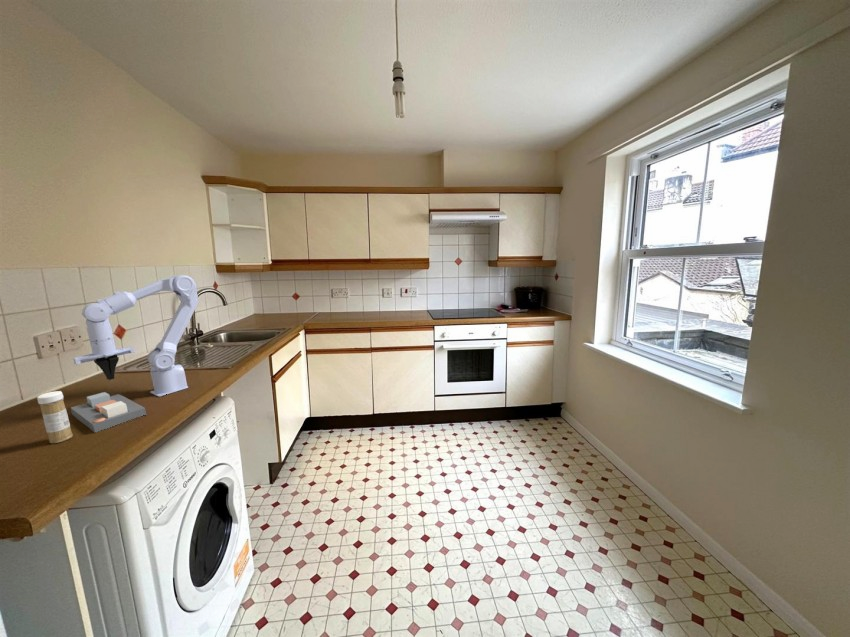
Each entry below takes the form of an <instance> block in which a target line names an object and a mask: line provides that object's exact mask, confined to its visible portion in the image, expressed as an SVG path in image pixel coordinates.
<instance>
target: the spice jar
mask: <svg viewBox="0 0 850 637" xmlns="http://www.w3.org/2000/svg"><path fill="white" fill-rule="evenodd" d="M36 400H37V403H38V405H39V406H40V410H41V411H40V412H41V415H42V418H43V424H44V427H45V431H46V432H47V436H48V439H49V440H48V442H49V443H50V444H58V443H62V442H65V441H67V440H70V439H72V438H73V436H74V435H73V432H72V428H71V424H70V420H69V416H68V412H67V408H66V405H65V402H64V394H63V392H62V391H61V390H58V391H57V390H56V391H50V392H46V393H43V394H40V395H38V396H37V397H36Z"/></svg>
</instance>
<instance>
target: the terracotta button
mask: <svg viewBox="0 0 850 637" xmlns="http://www.w3.org/2000/svg"><path fill="white" fill-rule="evenodd" d="M116 402H117V401H115V400H110V401H107V402H103V403H100V404H96V405H95V409H96V411H97V412H98V413H100V412H103V411H102V406H106V405H109V404H112V403H116Z"/></svg>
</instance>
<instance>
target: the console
mask: <svg viewBox="0 0 850 637" xmlns="http://www.w3.org/2000/svg"><path fill="white" fill-rule="evenodd" d="M110 399H111V400H115V401H117V402H119V401H122V402H124V403H125V404H126V406H127V410H128V412H126V413H123V414H120V415H117V416H114V417H110V418H106V417H104V415H103V412H100V413H98V412H97V411H96V409H95V407H92V408H91V407H90V406H89V405H88V402H85V403H82V404H78V405H75V406H70V410H71V411H70V412H71V415H72V416H73V417H74V418H75V419H77V420H78V421H79V422H80V423H82V424H83V425H85V426H86V427H87V428H89V429H90V430H91V431H92V432H93V433H95V432H96V433H99V432H102V431H105V430H107V428H108V429H110V427H111V428H113V427H112V426H114V427H116V426H115V425H117V424H120V423H122V424H124V423H123V422H125V423H127V422H126V421H128V420H131V419H134V418H136V417H140V416H143V415H146V416H147V411H146V407H144V406H143V405H141V404H138V403H137V402H135V401H133V400H132V399H129V398H127V397H125V396H124V395H121V394H120V393H118V394H115V395H110ZM143 417H144V416H143ZM140 418H141V417H140ZM134 420H135V419H134ZM131 421H132V420H131ZM128 422H129V421H128ZM120 425H121V424H120ZM117 426H118V425H117ZM104 429H105V430H104ZM101 430H102V431H101Z"/></svg>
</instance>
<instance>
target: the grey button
mask: <svg viewBox="0 0 850 637" xmlns="http://www.w3.org/2000/svg"><path fill="white" fill-rule="evenodd" d="M110 396H111V395H110V394H109V393H107V392H105V391H104V392H100V393H96V394H92V395H88V396H86V400H87V403H88V405H89V406H90V407H91V408H92V407H95V405H96V404H100V403H103V402H107V401H110V400H111V399H110Z"/></svg>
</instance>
